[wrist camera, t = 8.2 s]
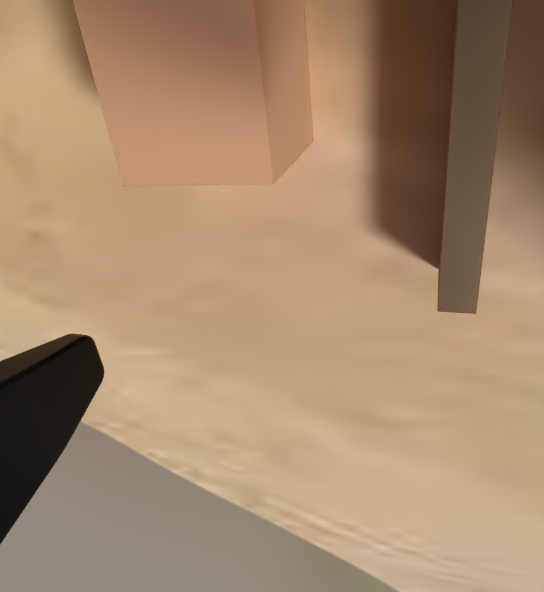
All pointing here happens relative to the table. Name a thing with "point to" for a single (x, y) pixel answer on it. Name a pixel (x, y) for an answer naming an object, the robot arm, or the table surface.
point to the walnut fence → (471, 147)
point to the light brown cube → (200, 87)
